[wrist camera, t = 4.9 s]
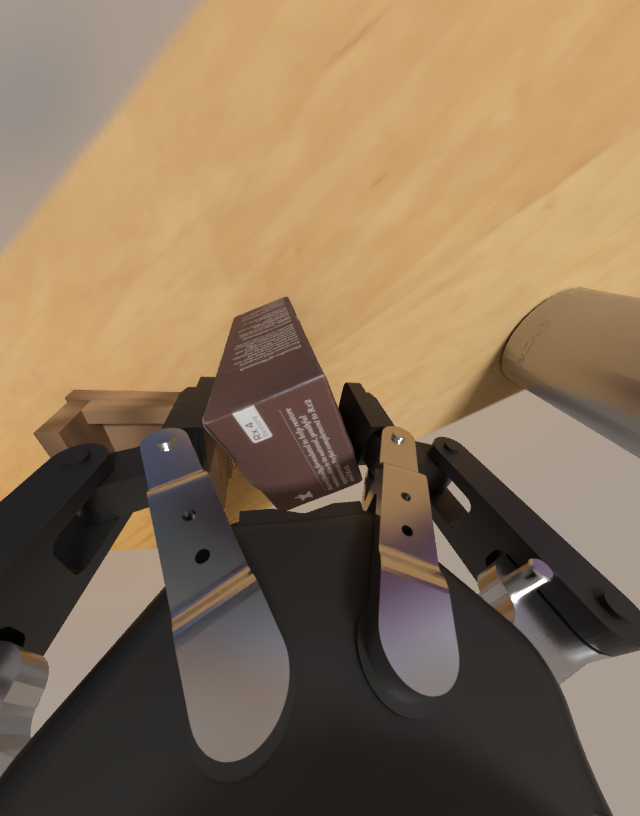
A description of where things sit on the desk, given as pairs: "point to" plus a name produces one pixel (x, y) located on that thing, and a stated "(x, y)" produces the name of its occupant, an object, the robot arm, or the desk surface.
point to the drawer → (119, 426)
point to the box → (279, 411)
